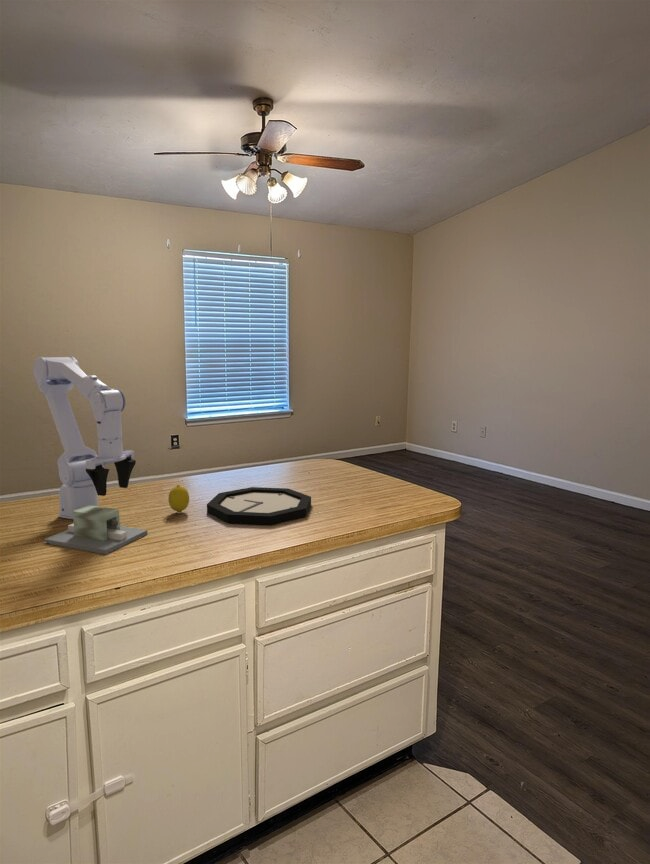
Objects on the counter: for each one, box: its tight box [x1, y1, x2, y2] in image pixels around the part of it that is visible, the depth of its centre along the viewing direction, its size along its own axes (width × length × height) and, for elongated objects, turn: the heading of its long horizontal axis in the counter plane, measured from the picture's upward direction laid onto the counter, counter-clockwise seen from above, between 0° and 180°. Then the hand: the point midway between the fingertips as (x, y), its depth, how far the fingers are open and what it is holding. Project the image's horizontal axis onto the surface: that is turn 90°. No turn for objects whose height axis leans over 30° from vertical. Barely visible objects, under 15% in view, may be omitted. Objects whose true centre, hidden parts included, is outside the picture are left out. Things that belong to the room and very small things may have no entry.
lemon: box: [168, 484, 190, 514], centre depth 147 cm, size 6×6×8 cm
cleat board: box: [44, 522, 148, 555], centre depth 127 cm, size 18×14×2 cm
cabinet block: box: [72, 505, 121, 541], centre depth 127 cm, size 10×5×6 cm, turn 69°
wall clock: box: [206, 486, 312, 527], centre depth 152 cm, size 30×3×30 cm
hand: (112, 491), depth 134 cm, fingers open, 7 cm apart
